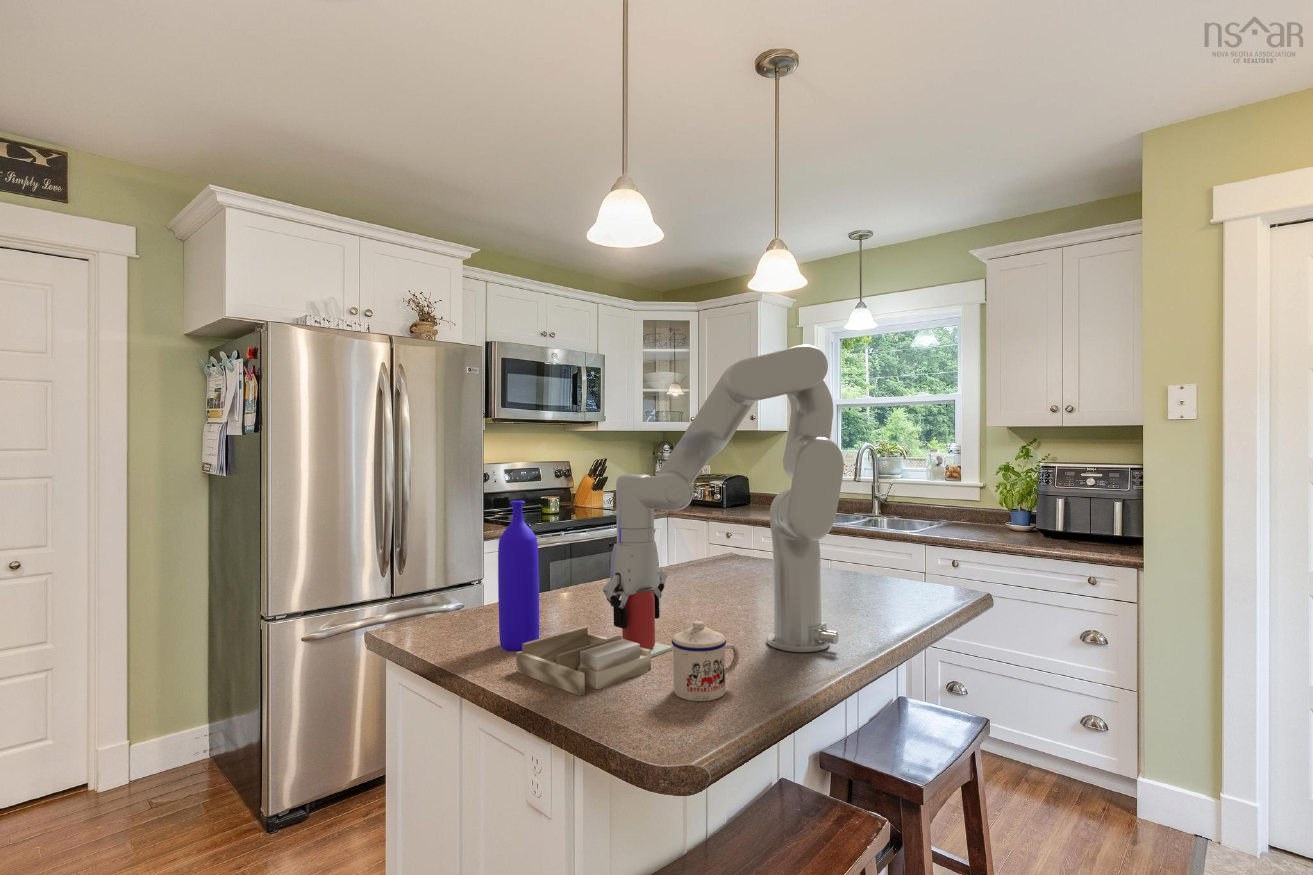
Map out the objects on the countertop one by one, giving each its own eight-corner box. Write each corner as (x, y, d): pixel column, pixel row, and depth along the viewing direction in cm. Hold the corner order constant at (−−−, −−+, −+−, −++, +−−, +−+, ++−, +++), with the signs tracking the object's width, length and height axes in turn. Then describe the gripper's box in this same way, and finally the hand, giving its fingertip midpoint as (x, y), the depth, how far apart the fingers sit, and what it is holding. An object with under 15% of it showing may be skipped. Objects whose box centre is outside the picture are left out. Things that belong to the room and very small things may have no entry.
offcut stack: (647, 672, 121) (647, 642, 121) (596, 690, 113) (595, 658, 113) (629, 666, 124) (629, 637, 125) (578, 683, 116) (577, 652, 116)
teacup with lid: (686, 706, 105) (685, 632, 105) (664, 687, 113) (662, 618, 113) (752, 694, 109) (751, 623, 109) (726, 676, 118) (725, 610, 118)
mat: (672, 649, 133) (672, 646, 133) (637, 662, 126) (637, 659, 126) (637, 640, 140) (637, 637, 140) (602, 651, 133) (602, 648, 133)
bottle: (547, 642, 140) (545, 499, 140) (524, 654, 132) (521, 503, 132) (515, 638, 143) (513, 498, 143) (490, 649, 135) (488, 502, 136)
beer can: (651, 653, 129) (651, 592, 129) (618, 651, 130) (618, 590, 130) (658, 642, 136) (657, 584, 136) (626, 641, 137) (625, 583, 137)
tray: (651, 668, 122) (650, 641, 122) (580, 695, 110) (579, 665, 110) (586, 649, 134) (586, 624, 134) (516, 671, 122) (516, 644, 122)
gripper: (651, 529, 142) (653, 610, 142) (590, 539, 129) (592, 628, 129) (678, 532, 137) (679, 616, 137) (616, 542, 124) (618, 635, 124)
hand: (637, 621), depth 133 cm, fingers open, 8 cm apart
